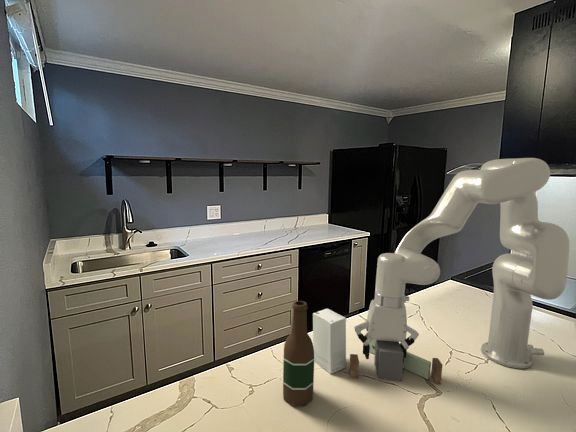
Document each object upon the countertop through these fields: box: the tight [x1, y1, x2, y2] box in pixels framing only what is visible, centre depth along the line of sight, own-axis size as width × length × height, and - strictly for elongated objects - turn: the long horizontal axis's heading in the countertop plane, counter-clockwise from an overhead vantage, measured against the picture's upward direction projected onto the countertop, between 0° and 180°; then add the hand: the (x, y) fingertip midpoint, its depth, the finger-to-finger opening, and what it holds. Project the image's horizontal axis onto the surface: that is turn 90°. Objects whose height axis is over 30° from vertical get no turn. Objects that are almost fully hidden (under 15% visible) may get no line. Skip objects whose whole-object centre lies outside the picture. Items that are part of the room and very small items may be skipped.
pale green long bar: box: [348, 353, 443, 385], centre depth 83 cm, size 23×3×6 cm, turn 85°
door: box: [369, 340, 432, 380], centre depth 89 cm, size 18×2×4 cm, turn 44°
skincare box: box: [312, 308, 347, 374], centre depth 88 cm, size 8×6×15 cm
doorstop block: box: [374, 340, 404, 382], centre depth 85 cm, size 6×7×8 cm
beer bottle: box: [282, 300, 315, 407], centre depth 74 cm, size 8×8×24 cm
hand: (383, 358), depth 86 cm, fingers open, 9 cm apart
